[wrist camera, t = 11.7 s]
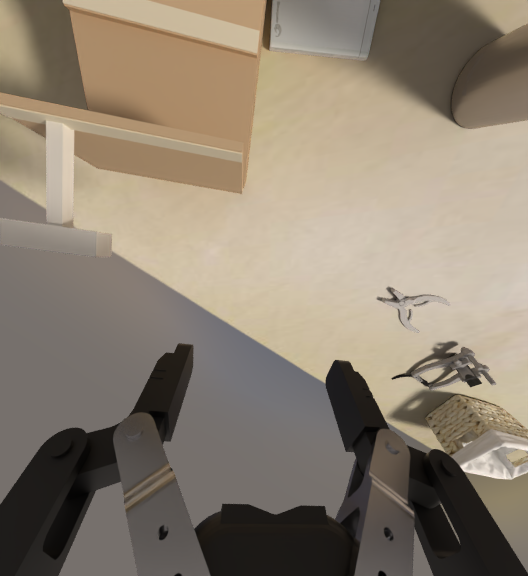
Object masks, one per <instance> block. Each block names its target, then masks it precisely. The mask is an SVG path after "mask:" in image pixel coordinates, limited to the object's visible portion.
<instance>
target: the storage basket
mask: <svg viewBox="0 0 528 576" xmlns="http://www.w3.org/2000/svg"><path fill="white" fill-rule="evenodd" d="M426 421H427V422H428V424H429V426H430V427H431V428H432V430H433V433H434V434H435V435H436V437H437V440H438V441H439V442H440V443H441V446H442V447H443V449H444V450H445V452H446V453H447V454H448V455H449V456H451V457H452V458H453V459H454V460H455V461H456V462H457V463H458V464H459V466H460V467H461V468H462V470H463V471H465V472H468V473H473V474H478V475H484V476H488V477H493V478H498V479H513V478H515V477H517V476H519V475H522V474H525V473H526V472H528V456H526V457H524V458H521V459H520V460H518V461H515V462H514V463H511V462H510V460H509V459H507V458H506V455H507V454H509V453H511V452H513V451H515V450H517V449H521V450H525V451H526V453H527V454H528V430H527V429H526V428H525V427H524V426H523V425H522V424H521V423H519V422H518V421H517V420H516V419H515V418H514V417H513V416H512V415H510V414H509V413H508V412H507V411H506V410H504V409H503V408H500V407H497V406H494V405H492V404H489V403H485V402H482V401H479V400H476V399H472V398H469V397H465V396H461V395H455V396H453V397H452V398H450V400H447V401H446V402H445V403H444V404H442V405H441V406H439V407H438V408H436V409H435V410H434V411H433V412H431V413H429V414H428V416H427V417H426Z"/></svg>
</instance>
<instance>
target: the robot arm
mask: <svg viewBox="0 0 528 576" xmlns="http://www.w3.org/2000/svg"><path fill="white" fill-rule="evenodd" d="M451 107H452V114H453V116H454V119H455V121H456V122H457V123H458V124H459V125H460V126H462V127H464V128H468V129H473V128H481V127H487V126H493V125H500V124H507V123H513V122H519V121H525V120H528V24H526V25H524V26H522V27H520V28H518V29H516V30H514V31H512V32H510V33H508V34H506V35H504V36H502V37H500V38H498V39H496V40H495V41H493V42H491V43H489V44H487V45H485V46H484V47H483V48H481V49H480V50H479V51H478V52H477V53H476V54H475V55H474V56H473V57H472V58H471V59H470V60H469V61H468V63H467V64H466V66H465V67H464V68H463V70H462V72H461V74H460V75H459V77H458V79H457V82H456V84H455V87H454V91H453V95H452V104H451ZM192 368H193V345H190V344H180V343H179V344H178V345H177V347H176V350H175V352H174V353H165V354H164V355H163V356H162V357H161V358H160V359H159V360H158V361H157V363H156V365H155V367H154V370H153V371H152V373H151V375H150V378H149V379H148V381H147V383H146V385H145V387H144V389H143V392H142V393H141V395H140V397H139V399H138V401H137V403H136V405H135V407H134V409H133V411H132V412H131V413H130V415H129V416H128V417H127V418H125V419H124V420H123V421H122V422H120V423H119V424H117V425H115V426H112V427H110V428H106V429H102V430H98V431H94V432H90V433H86V432H85V431H84V430H82V429H80V428H69V429H66V430H63V431H61V432H58V433H57V434H55V435H54V436H52V437H51V438H49V439H48V440H47V441H46V442H45V443H44V444H43V445H42V446H41V447H40V449H39V450H38V452H37V453H36V455H35V456H34V457H33V459H32V460H31V462H30V463H29V465H28V466H27V467H26V469H25V470H24V472H23V473H22V474H21V476H20V477H19V479H18V480H17V482H16V483H15V484H14V486H13V487H12V489H11V490H10V492H9V493H8V495H7V496H6V498H5V499H4V500H3V502H2V503H1V504H0V576H58V575H59V573H60V571H61V568H62V566H63V564H64V562H65V560H66V557H67V555H68V553H69V550H70V548H71V546H72V544H73V541H74V539H75V537H76V535H77V532H78V530H79V528H80V525H81V523H82V521H83V518H84V516H85V514H86V512H87V510H88V507H89V505H90V503H91V501H92V498H93V496H94V494H95V491H96V490H98V489H101V488H103V487H107V486H109V485H112V484H115V483H118V482H121V483H122V488H123V494H124V505H125V511H126V517H127V522H128V527H129V532H130V537H131V542H132V547H133V553H134V558H135V563H136V568H137V573H138V576H413V575H412V574H413V550H414V527H415V530H416V532H417V535H418V537H419V540H420V542H421V545H422V547H423V550H424V553H425V555H426V557H427V560H428V562H429V565H430V568H431V570H432V573H433V575H434V576H528V573H527V572H526V570H525V568H524V567H523V565H522V564H521V562H520V561H519V559H518V558H517V556H516V554H515V553H514V551H513V549H512V548H511V546H510V545H509V543H508V541H507V540H506V538H505V537H504V535H503V534H502V532H501V530H500V529H499V527H498V525H497V524H496V522H495V521H494V519H493V518H492V516H491V514H490V513H489V511H488V510H487V508H486V506H485V505H484V503H483V502H482V500H481V498H480V497H479V496H478V494H477V492H476V490H475V489H474V487H473V486H472V484H471V483H470V481H469V479H468V478H467V477H466V475H465V473H464V471H463V470H462V468H461V467H460V466H459V464H458V463H457V462H456V461H455V460H454V459H453V458H452V457H451V456H449V455H448V454H447V453H445V452H443V451H441V450H437V449H433V450H431V451H430V452H429V453H424V452H422V451H419V450H417V449H414V448H412V447H409V446H408V445H406V443H405V442H404V440H403V439H402V438H401V437H400V436H399V435H397V434H396V433H395V432H393V431H391V430H390V429H389V427H388V425H387V423H386V421H385V419H384V417H383V415H382V413H381V411H380V409H379V407H378V405H377V403H376V401H375V399H374V398H373V395H372V393H371V391H370V390H369V387H368V385H367V383H366V381H365V379H364V378H363V377H362V376H361V375H360V374H359V373H358V372H355V371H354V370H353V367H352V365H351V363H350V362H349V361H341V360H335V361H334V362H333V364H332V366H331V368H330V370H329V372H328V374H327V377H326V389H327V392H328V395H329V398H330V402H331V405H332V408H333V411H334V415H335V418H336V421H337V424H338V428H339V431H340V434H341V437H342V441H343V444H344V447H345V450H346V452H354V453H355V456H356V459H355V461H354V464H353V468H352V471H351V475H350V479H349V483H348V486H347V489H346V493H345V497H344V500H343V502H342V504H341V507H340V508H339V510H338V513H337V515H336V518H335V519H333V518H331V517H330V516H328V515H326V510H325V506H299V507H296V508H294V509H291V510H288V511H285V512H283V513H280V514H277V515H274V514H271V513H269V512H266V511H264V510H261V509H259V508H256V507H254V506H251V505H248V504H222V509H221V511H220V512H217V513H215V514H213V515H211V516H209V517H208V518H206V519H205V520H203V521H202V522H201V523H200V524H199V525H198V526H197V527H196V528H195V529H194V527H193V525H192V522H191V519H190V516H189V513H188V510H187V508H186V505H185V502H184V499H183V496H182V493H181V491H180V488H179V485H178V482H177V479H176V477H175V474H174V472H173V470H172V468H171V467H170V465H169V462H168V459H167V456H166V454H165V451H164V448H163V442H164V441H171V439H172V435H173V432H174V429H175V426H176V422H177V419H178V416H179V413H180V409H181V406H182V403H183V400H184V397H185V393H186V390H187V387H188V383H189V380H190V377H191V373H192ZM441 503H442V505H443V507H444V509H445V511H446V513H447V515H448V517H449V519H450V521H451V523H452V525H453V527H454V529H455V531H456V533H457V535H458V537H459V540H460V544H459V542H458V540H457V538H456V536H455V534H454V532H453V530H452V528H451V526H450V524H449V522H448V520H447V518H446V515H445V513H444V512H443V509H442V508H441V505H440V504H441ZM460 545H461V546H460Z"/></svg>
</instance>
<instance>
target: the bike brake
mask: <svg viewBox="0 0 528 576" xmlns="http://www.w3.org/2000/svg"><path fill="white" fill-rule="evenodd" d="M474 355H475V353H474V352H473V351H472V350H469V349H468V348H465V347H462V348H461V353H459V354H456V355H453V356H451V357H448V358H447V359H444V360H441V361H438V362H434V363H431V364H428V365H425V366H423V367H420V368H418V369H416V370H414V371H412V372H411V375H399V376H396V377H393V378H392V380H393V379H396V378H400V377H414V378H415V379H416V380H418V381H419V382H421V383H422V384H424V385H426V386H428V387H429V389H430V390H435V389H437V388H441V387H445V386H448V385H451V384H453V383H455V382H458V381H460V380H462V382H464V383H465V382H467V383H468V385H469V386H470V387H473V386H476V385H479V384H482V383H481V381H480V380H479V379H478V378H481V376H480V374H483V375H484V376H485V378H486V379H487V380H488V381H489V383H490V384H491V385H496V383H495V381H494V380H493V379H492V378H491V377H490V375H489V374H488V373H487V372H488V371H489V370H490V369H489V368H488V367H487V366H486V365H482V364H479V363H478V362H477V361H476V359H475V358H474V357H473V356H474ZM469 360H470V361H471V362H472V363H473V364H474V366H475V368H472V369H470V367H469V366H468V365H469V364H472V363H471V362H470V361H469ZM448 366H450V367H451V368H452V369H453V370H455V369H456V370H457V371H458V373H457V374H456V375H454V376H452V377H451V378H449V379H447V380H445V381H442V382H439V383H435V384H429V383H428V382H427V381H426V380H424V379H422V378H421V377H420V376H419V374H422V373H424V372H426V371H429V370H432V369H436V368H442V367H448ZM418 376H419V377H418Z"/></svg>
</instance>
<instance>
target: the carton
mask: <svg viewBox="0 0 528 576" xmlns="http://www.w3.org/2000/svg"><path fill="white" fill-rule="evenodd" d="M266 2H267V0H63V3H64V6H65V7H67V8H68V9H69V11H70V16H71V22H72V27H73V33H74V38H75V43H76V49H77V54H78V60H79V65H80V70H81V76H82V81H83V87H84V92H85V97H86V103H87V108H88V111H93V112H98V113H102V114H107V115H112V116H117V117H122V118H127V119H132V120H136V121H141V122H146V123H151V124H156V125H161V126H165V127H170V128H175V129H180V130H185V131H190V132H195V133H199V134H204V135H209V136H214V137H219V138H224V139H228V140H233V141H238V142H243V188H244V186H245V183H246V177H247V168H248V159H249V150H250V142H251V133H252V124H253V116H254V107H255V98H256V89H257V81H258V72H259V63H260V55H261V46H262V37H263V28H264V20H265V11H266Z"/></svg>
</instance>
